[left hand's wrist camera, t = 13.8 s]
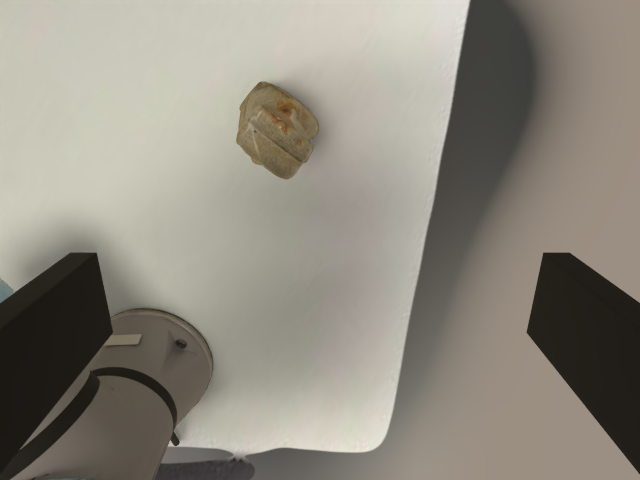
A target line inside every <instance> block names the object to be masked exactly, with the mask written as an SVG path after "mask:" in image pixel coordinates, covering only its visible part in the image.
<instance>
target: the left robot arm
mask: <svg viewBox="0 0 640 480" xmlns="http://www.w3.org/2000/svg"><path fill="white" fill-rule="evenodd" d="M527 334H528V335H529V336H530V337H531V339H532V340H533V341H534V342H535V344H536V345H537V346H538V347H539V349H540V350H541V351H542V352H543V354H544V355H545V356H546V357H547V359H548V360H549V361H550V362H551V364H552V365H553V366H554V367H555V369H556V370H557V371H558V372H559V374H560V375H561V376H562V377H563V379H564V380H565V381H566V382H567V384H568V385H569V386H570V387H571V389H572V390H573V391H574V392H575V394H576V395H577V396H578V397H579V399H580V400H581V401H582V402H583V404H584V405H585V406H586V407H587V409H588V410H589V411H590V413H591V414H592V415H593V416H594V418H595V419H596V420H597V421H598V423H599V424H600V425H601V426H602V428H603V429H604V430H605V431H606V432H607V434H608V435H609V436H610V438H611V439H612V440H613V441H614V443H615V444H616V445H617V446H618V448H619V449H620V450H621V451H622V453H623V454H624V455H625V456H626V458H627V459H628V460H629V461H630V463H631V464H632V465H633V466H634V468H635V469H636V470H637V471H638V473H639V474H640V303H639V302H638V301H636V300H635V299H633V298H632V297H631V296H629V295H628V294H626V293H625V292H624V291H622V290H621V289H619V288H618V287H617V286H615V285H614V284H612V283H611V282H610V281H608V280H607V279H605V278H604V277H603V276H601V275H600V274H599V273H597V272H596V271H594V270H593V269H592V268H590V267H589V266H587V265H586V264H585V263H583V262H582V261H580V260H579V259H578V258H576V257H575V256H573V255H572V254H571V253H543V257H542V262H541V267H540V272H539V276H538V281H537V286H536V291H535V295H534V300H533V305H532V310H531V314H530V319H529V324H528V329H527ZM211 375H212V357H211V353H210V350H209V348H208V346H207V344H206V342H205V341H204V339H203V338H202V336H201V335H200V334H199V333H198V332H197V331H196V330H195V329H194V328H193V327H192V326H190V325H189V324H188V323H186V322H185V321H183V320H182V319H180V318H178V317H176V316H174V315H171V314H168V313H165V312H162V311H157V310H150V309H136V310H129V311H125V312H122V313H119V314H117V315H115V316H113V317H111V318H110V314H109V310H108V305H107V300H106V295H105V290H104V286H103V281H102V276H101V271H100V267H99V262H98V257H97V253H69V254H68V255H67V256H65V257H64V258H62V259H61V260H60V261H58V262H57V263H55V264H54V265H53V266H51V267H50V268H48V269H47V270H46V271H44V272H43V273H41V274H40V275H39V276H37V277H36V278H35V279H33V280H32V281H30V282H29V283H28V284H26V285H25V286H23V287H22V288H21V289H19V290H18V291H16V292H15V291H14V290H13V289H12V288H11V287H10V286H8V285H7V284H6V283H5V282H4V281H3V280H2V279H1V278H0V480H154V479H155V476H156V473H157V471H158V468H159V466H160V463H161V461H162V458H163V456H164V453H165V451H166V448H167V446H168V444H169V441H170V440H171V441H172V443H173V445H174V446H177V445H179V443H180V442H179V440H178V438H177V436H176V435H175V433H174V428H175V426H176V425H177V424H178V423H179V422H180V421H181V420H182V419H183V418H184V417H185V416H186V414H187V413H188V412H189V411H190V410H191V409H192V408H193V407H194V406H195V405H196V404H197V403H198V402H199V400H200V399H201V397H202V396H203V394H204V392H205V391H206V389H207V386H208V384H209V381H210V378H211Z"/></svg>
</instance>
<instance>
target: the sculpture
mask: <svg viewBox="0 0 640 480" xmlns="http://www.w3.org/2000/svg"><path fill="white" fill-rule="evenodd" d="M240 111H241V113H240V120H239V132H238V134H237V139H236V140H237V144H239V145H240V146H241V148H242V149H243V150H244V151H245V152H246V153H247V154H248V155H249V156H251V159H252V161H253V162H254V163H255V164H259V165H263V166H264V167H265V168H266V169H268V170H269V171H270V172H272V173H273V174H274V175H276V176H278V177H280V178H283V179H289V178H291V177H292V176H294V175H295V174H296V172H297V171H298V169H299V167H300V166H301V165H302V164H303V163H305V162H307V160H308V158H309V156H310V154H311V153H312V151H313V146H312V144H311V143H310V142H309V139H312V138H313V137H314V136H315V135H316V134H317V132H318V128H319V125H318V122H317V120H316V118H315V117H314V116H313V115H312V113H311V112H310V111H309V110H308V109H306V108H305V107H304V106H303V105H302V104H301V103H300V102H298V101H297V100H296V99H294V98H293V97H292V96H290V95H289V94H288V93H286V92H285V91H283V90H282V89H280V88H278V87H276V86H274V85H272V84H270V83H267V82H259V83H258V84H257V85H256V86H255V87H254V89H253V90H252V91H251V92H250V93H249V94H248V96H247V97H246V98H245V100H244V101H243V102H242V104H241V106H240Z"/></svg>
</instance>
